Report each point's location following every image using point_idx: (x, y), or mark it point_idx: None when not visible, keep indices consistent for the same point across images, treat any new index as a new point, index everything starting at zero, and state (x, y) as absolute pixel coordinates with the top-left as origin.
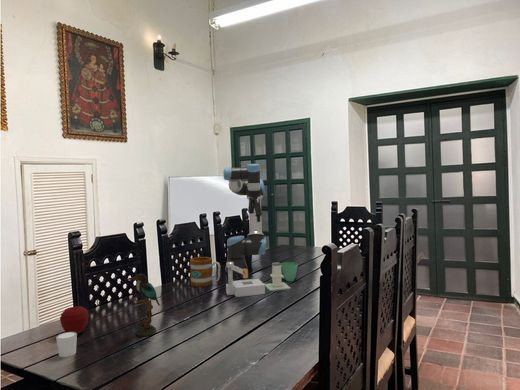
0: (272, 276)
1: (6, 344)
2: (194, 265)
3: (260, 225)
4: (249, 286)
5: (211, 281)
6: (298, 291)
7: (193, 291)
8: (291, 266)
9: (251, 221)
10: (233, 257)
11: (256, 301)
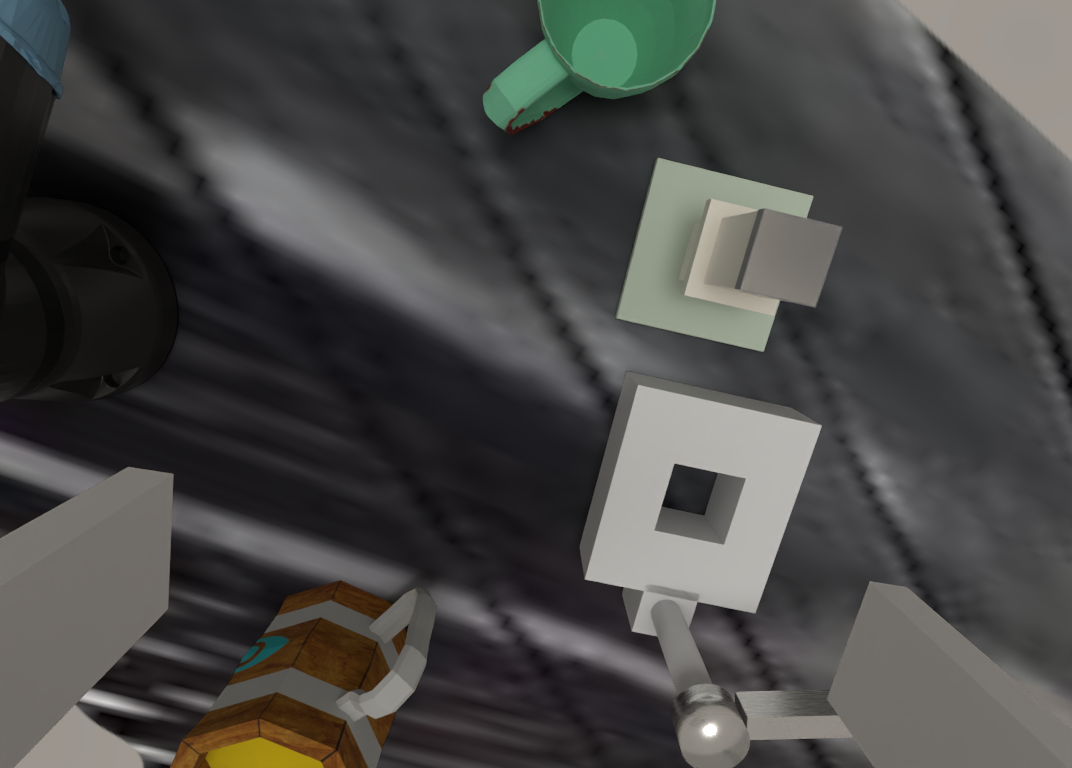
0: (752, 310)
1: None
2: None
3: (945, 631)
4: (784, 529)
5: (371, 608)
6: (891, 179)
7: (482, 731)
8: (708, 26)
9: (96, 617)
10: (28, 377)
11: (878, 516)
